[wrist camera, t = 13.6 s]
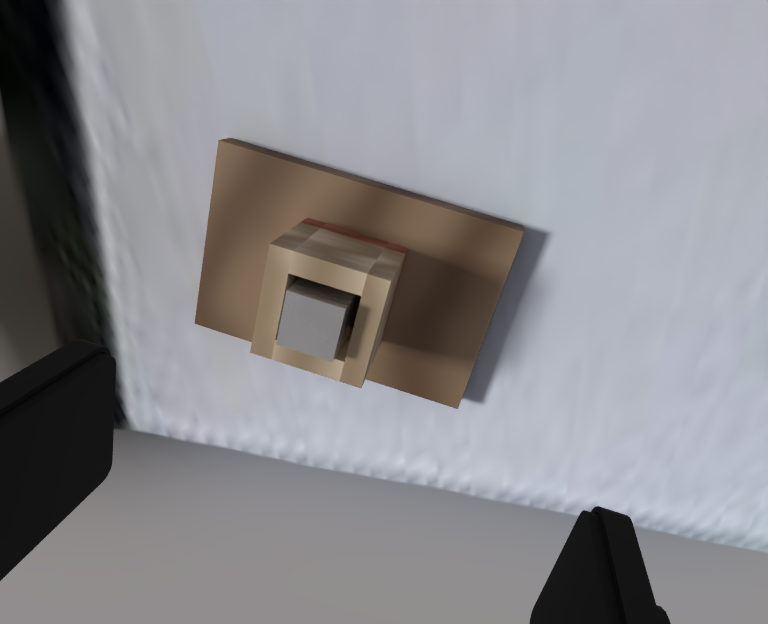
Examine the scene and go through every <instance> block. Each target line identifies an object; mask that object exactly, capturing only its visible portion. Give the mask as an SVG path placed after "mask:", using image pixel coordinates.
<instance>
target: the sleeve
mask: <svg viewBox="0 0 768 624" xmlns="http://www.w3.org/2000/svg"><path fill="white" fill-rule="evenodd" d="M407 252H408V248H405V247H402V246H399V245H396V244H392V243H389V242H386V241H382V240H379V239H376V238H373V237H369V236H366V235H363V234H359V233H356V232H353V231H350V230H346V229H343V228H340V227H336V226H333V225H330V224H327V223H323V222H320V221H317V220H313V219H310V218H306V219H304V220H303V221H301V222H300V223H299V224H297V225H296V226H294V227H293V228H291V229H290V230H289V231H287V232H286V233H284V234H283V235H281V236H280V237H278V238H277V239H276V240H274V241H273V242H271V243H270V244H269V250H268V255H267V261H266V266H265V272H264V278H263V283H262V289H261V295H260V300H259V306H258V311H257V317H256V323H255V328H254V334H253V340H252V345H251V351H250V353H253V354H257V355H260V356H263V357H266V358H269V359H272V360H275V361H278V362H281V363H284V364H287V365H291V366H294V367H297V368H300V369H303V370H306V371H309V372H312V373H315V374H318V375H321V376H325V377H328V378H331V379H334V380H337V381H340V382H343V383H346V384H349V385H352V386H355V387H359V388H361V387H362V385H363V383H364V381H365V378H366V376H367V374H368V372H369V369H370V367H371V365H372V362H373V360H374V358H375V356H376V353H377V351H378V349H379V347H380V344H381V342H382V339H383V336H384V332H385V329H386V325H387V322H388V318H389V315H390V311H391V308H392V304H393V301H394V297H395V294H396V290H397V287H398V283H399V280H400V276H401V273H402V269H403V266H404V262H405V259H406V255H407ZM300 277H301V278H305V279H308V280H311V281H314V282H318V283H321V284H324V285H327V286H330V287H334V288H337V289H340V290H343V291H346V292H350V293H353V294H356V295H359V296H361V300H360V304H359V308H358V312H357V315H356V319H355V323H354V327H353V328H352V330H351V332H350V333H349V335H348V337H347V338H346V340H345V342H344V344H343V345H342V347H341V349H340V350H339V352H338V354H337V356H336V357H335V359H334V361H333V362H329V361H326V360H323V359H320V358H317V357H314V356H311V355H308V354H305V353H302V352H299V351H295V350H292V349H289V348H286V347H283V346H280V345H277V344H276V341H277V336H278V331H279V326H280V321H281V316H282V311H283V306H284V301H285V296H286V291H287V290H288V289H289V288H290V287H291V286H292V285H293V284H294V283H295V282H296V281H297V280H298V279H299V278H300Z"/></svg>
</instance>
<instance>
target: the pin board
mask: <svg viewBox="0 0 768 624" xmlns="http://www.w3.org/2000/svg"><path fill="white" fill-rule="evenodd" d="M306 218H310V219H313V220H317V221H320V222H323V223H327V224H330V225H333V226H336V227H340V228H343V229H346V230H350V231H353V232H356V233H359V234H363V235H366V236H369V237H373V238H376V239H379V240H382V241H386V242H389V243H392V244H396V245H399V246H402V247H405V248H408V252H407V255H406V259H405V262H404V266H403V269H402V273H401V276H400V280H399V283H398V287H397V290H396V294H395V297H394V301H393V304H392V308H391V311H390V315H389V318H388V322H387V325H386V329H385V332H384V336H383V339H382V342H381V344H380V347H379V349H378V351H377V353H376V356H375V358H374V360H373V362H372V365H371V367H370V369H369V372H368V374H367V376H366V378H365V379H367V380H370V381H373V382H376V383H379V384H382V385H385V386H389V387H392V388H395V389H398V390H401V391H404V392H407V393H410V394H413V395H416V396H419V397H422V398H426V399H429V400H432V401H435V402H438V403H441V404H444V405H447V406H450V407H453V408H456V409H458V407H459V404H460V402H461V399H462V396H463V394H464V391H465V388H466V386H467V383H468V380H469V378H470V375H471V372H472V370H473V367H474V364H475V362H476V359H477V356H478V354H479V351H480V348H481V346H482V343H483V340H484V338H485V335H486V332H487V329H488V327H489V324H490V321H491V319H492V316H493V313H494V311H495V308H496V305H497V303H498V300H499V297H500V295H501V292H502V289H503V287H504V284H505V281H506V279H507V276H508V273H509V271H510V268H511V265H512V263H513V260H514V257H515V255H516V252H517V249H518V247H519V244H520V241H521V239H522V236H523V233H524V229H523V226H522V225H518V224H515V223H512V222H508V221H505V220H502V219H498V218H495V217H492V216H488V215H485V214H482V213H478V212H475V211H472V210H468V209H465V208H462V207H458V206H455V205H452V204H448V203H445V202H442V201H438V200H435V199H432V198H428V197H425V196H422V195H418V194H415V193H412V192H408V191H405V190H402V189H398V188H395V187H392V186H388V185H385V184H382V183H378V182H375V181H372V180H368V179H365V178H362V177H358V176H355V175H352V174H348V173H345V172H342V171H338V170H335V169H332V168H328V167H325V166H322V165H318V164H315V163H312V162H308V161H305V160H302V159H298V158H295V157H292V156H288V155H285V154H282V153H278V152H275V151H272V150H268V149H265V148H262V147H258V146H255V145H252V144H248V143H245V142H242V141H238V140H235V139H232V138H227V139H222V140H219V142H218V149H217V157H216V165H215V172H214V180H213V188H212V195H211V203H210V211H209V218H208V226H207V234H206V241H205V249H204V257H203V264H202V272H201V279H200V287H199V295H198V302H197V310H196V318H195V324H198V325H201V326H204V327H207V328H210V329H213V330H216V331H219V332H222V333H225V334H228V335H231V336H235V337H238V338H241V339H244V340H247V341H250V342H252V340H253V334H254V328H255V323H256V317H257V311H258V306H259V300H260V295H261V289H262V283H263V278H264V272H265V266H266V261H267V255H268V250H269V244H270V243H271V242H273V241H274V240H276V239H277V238H278V237H280V236H281V235H283V234H284V233H286V232H287V231H289V230H290V229H291V228H293V227H294V226H296V225H297V224H299V223H300V222H301V221H303V220H304V219H306Z"/></svg>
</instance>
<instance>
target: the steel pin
mask: <svg viewBox="0 0 768 624" xmlns="http://www.w3.org/2000/svg"><path fill="white" fill-rule="evenodd" d="M360 300H361V296H359V295H356V294H353V293H350V292H346V291H343V290H340V289H337V288H334V287H330V286H327V285H324V284H321V283H318V282H314V281H311V280H308V279H305V278H301V277H300V278H299V279H298V280H297V281H296V282H295V283H294V284H293V285H292V286H291V287H290V288H289V289H288V290H287V291H286V296H285V301H284V306H283V311H282V316H281V321H280V326H279V331H278V336H277V341H276V344H277V345H280V346H283V347H286V348H289V349H292V350H295V351H299V352H302V353H305V354H308V355H311V356H314V357H317V358H320V359H323V360H326V361H329V362H333V361H334V359H335V357H336V356H337V354H338V352H339V350H340V349H341V347H342V345H343V344H344V342H345V340H346V338H347V337H348V335H349V333H350V332H351V330H352V328H353V327H354V323H355V319H356V315H357V312H358V308H359V304H360Z"/></svg>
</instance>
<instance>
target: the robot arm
mask: <svg viewBox="0 0 768 624" xmlns="http://www.w3.org/2000/svg"><path fill="white" fill-rule="evenodd" d="M115 379H116V361H115V359H114V358H113V357H111V355H110V351H109V349H108V348H106V347H104V346H101V345H98V344H95V343H92V342H89V341H86V340H83V339H76V340H73V341H71V342H69V343H68V344H66V345H64V346H63V347H61V348H59V349H57V350H56V351H54V352H52V353H50V354H49V355H47V356H45V357H44V358H42V359H40V360H38V361H37V362H35V363H33V364H31V365H30V366H28V367H26V368H24V369H23V370H21V371H20V372H17V373H16V374H14V375H12V376H11V377H9V378H7V379H5V380H4V381H2V382H0V581H1V580H2V579H3V578H4V577H5V576H6V575H7V574H8V573H9V572H10V571H11V570H12V569H13V568H14V567H15V566H16V565H17V564H18V563H19V562H20V561H21V560H22V559H23V558H24V557H25V556H26V555H27V554H29V553H30V551H32V550H33V549H34V547H36V546H37V545H38V544H39V543H40V542H41V541H42V540H43V539H44V538H45V537H46V536H47V535H48V534H49V533H50V532H51V531H52V530H53V529H54V528H55V527H56V526H57V525H58V524H59V523H60V522H61V521H63V520H64V519H65V518H66V517H67V516H68V515H69V514H70V513H71V512H72V511H73V510H74V509H75V508H76V507H77V506H78V505H79V504H80V503H81V502H82V501H83V500H84V499H85V498H86V497H87V496H88V495H89V494H90V493H91V492H93V491H94V490H95V489H96V488H97V487H98V486H99V485H100V484H101V483H102V482H103V481H104V480H105V478H106V477H107V475H108V473H109V471H110V469H111V466H112V455H113V453H112V452H113V430H114V404H115ZM530 624H670V621H669V618H668V616H667V614H666V612H665V611H664V610H663V609H662V607H660V606H657V605H656V603H655V599H654V596H653V593H652V589H651V585H650V583H649V579H648V575H647V572H646V568H645V565H644V561H643V558H642V554H641V551H640V548H639V544H638V541H637V537H636V534H635V530H634V527H633V523H632V521H631V519H630V517H628V516H627V515H624V514H621V513H618V512H614V511H611V510H608V509H605V508H602V507H599V506H597V507H595V508H594V509H593V510H592V511H591V512H588V511H582V512H581V514H580V515H579V517H578V519H577V521H576V523H575V525H574V527H573V529H572V531H571V533H570V535H569V537H568V539H567V541H566V543H565V545H564V547H563V549H562V551H561V553H560V555H559V557H558V559H557V561H556V564H555V565H554V568H553V570H552V571H551V574H550V576H549V578H548V580H547V582H546V584H545V586H544V588H543V590H542V592H541V594H540V596H539V598H538V600H537V602H536V604H535V606H534V608H533V611H532V614H531V618H530Z"/></svg>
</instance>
